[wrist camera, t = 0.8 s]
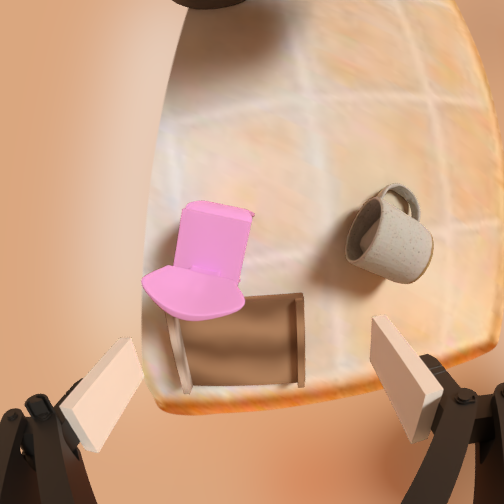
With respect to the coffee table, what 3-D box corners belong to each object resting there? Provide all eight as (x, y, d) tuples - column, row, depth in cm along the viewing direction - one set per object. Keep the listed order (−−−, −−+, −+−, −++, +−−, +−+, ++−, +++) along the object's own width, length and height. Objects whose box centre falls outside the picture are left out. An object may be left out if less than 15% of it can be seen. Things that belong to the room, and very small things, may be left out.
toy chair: (264, 210, 34) (261, 228, 19) (248, 283, 35) (234, 347, 21) (193, 196, 34) (140, 203, 19) (181, 268, 35) (128, 319, 21)
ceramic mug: (393, 277, 34) (420, 298, 27) (338, 254, 34) (356, 270, 27) (424, 200, 32) (458, 204, 25) (371, 171, 32) (398, 166, 24)
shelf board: (172, 300, 36) (163, 311, 33) (302, 292, 35) (305, 304, 32) (188, 377, 39) (182, 393, 35) (303, 374, 38) (306, 390, 34)
